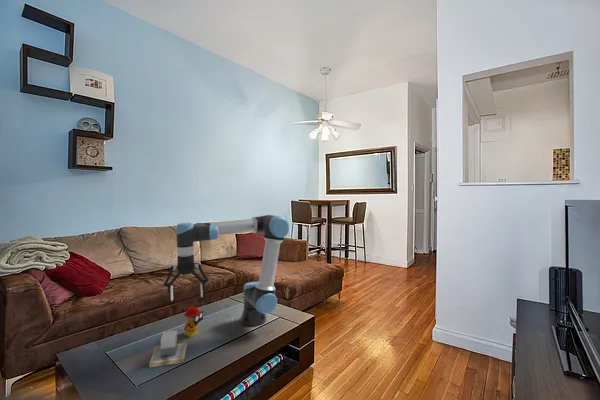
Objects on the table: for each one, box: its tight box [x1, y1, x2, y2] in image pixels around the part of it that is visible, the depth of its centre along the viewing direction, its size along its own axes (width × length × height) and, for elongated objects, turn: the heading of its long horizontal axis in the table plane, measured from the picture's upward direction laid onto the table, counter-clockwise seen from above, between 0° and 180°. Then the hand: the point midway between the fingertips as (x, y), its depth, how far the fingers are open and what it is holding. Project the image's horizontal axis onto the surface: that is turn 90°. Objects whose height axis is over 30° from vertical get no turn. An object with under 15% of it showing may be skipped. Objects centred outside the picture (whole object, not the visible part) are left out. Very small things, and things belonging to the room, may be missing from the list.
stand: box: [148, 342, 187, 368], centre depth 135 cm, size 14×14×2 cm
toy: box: [183, 306, 204, 338], centre depth 156 cm, size 11×9×15 cm
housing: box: [160, 329, 178, 358], centre depth 135 cm, size 8×6×8 cm
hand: (187, 298), depth 140 cm, fingers open, 13 cm apart
